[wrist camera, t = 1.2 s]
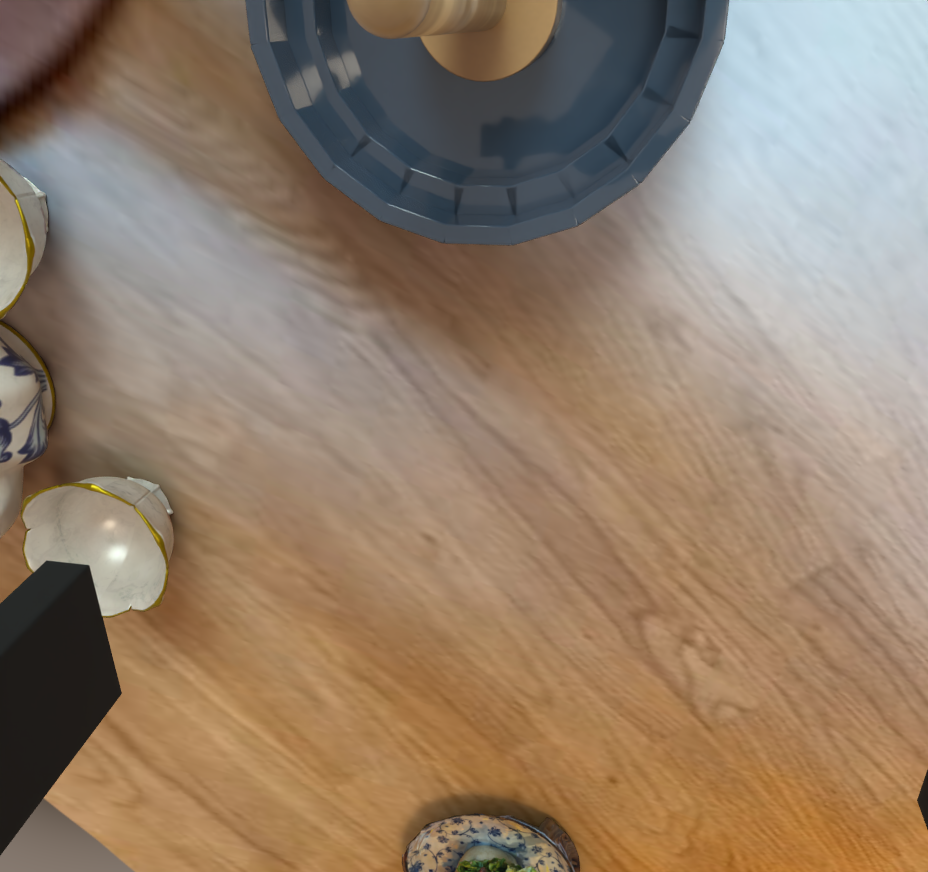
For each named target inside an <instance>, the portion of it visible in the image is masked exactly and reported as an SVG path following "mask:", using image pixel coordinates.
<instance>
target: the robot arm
mask: <svg viewBox="0 0 928 872" xmlns="http://www.w3.org/2000/svg"><path fill="white" fill-rule="evenodd" d="M121 694H122V693H121V689H120V685H119V681H118V677H117V673H116V669H115V665H114V661H113V657H112V653H111V649H110V645H109V641H108V637H107V633H106V629H105V625H104V621H103V617H102V613H101V609H100V605H99V601H98V597H97V594H96V590H95V586H94V582H93V578H92V574H91V570H90V566H89V565H84V564H75V563H66V562H56V561H47V560H46V561H45V562H44V563H43V564H42V565H41V566H40V567H39V568H38V569H37V570H36V571H35V572H34V573H33V574H32V575H30V576H29V577H28V578H27V579H26V580H25V581H24V582H23V583H22V584H21V585H20V586H19V587H18V588H17V589H15V590H14V591H13V592H12V593H11V594H10V595H9V596H8V597H7V598H6V599H5V600H4V601H3V602H2V603H1V604H0V855H1V854H2V853H3V851H4V850H5V848H6V847H7V846H8V845H9V843H10V842H11V840H12V839H13V838H14V837H15V835H16V834H17V833H18V831H19V830H20V828H21V827H22V826H23V825H24V823H25V822H26V820H27V819H28V818H29V817H30V815H31V814H32V813H33V811H34V810H35V809H36V807H37V806H38V804H39V803H40V802H41V801H42V799H43V798H44V797H45V795H46V794H47V793H48V791H49V790H50V789H51V787H52V786H53V785H54V783H55V782H56V781H57V779H58V778H59V777H60V775H61V774H62V773H63V771H64V770H65V769H66V767H67V766H68V765H69V763H70V762H71V761H72V759H73V758H74V757H75V755H76V754H77V753H78V751H79V750H80V749H81V747H82V746H83V745H84V743H85V742H86V741H87V739H88V738H89V737H90V735H91V734H92V733H93V731H94V730H95V729H96V727H97V726H98V725H99V723H100V722H101V721H102V719H103V718H104V717H105V715H106V714H107V713H108V711H109V710H110V709H111V707H112V706H113V705H114V703H115V702H116V701H117V699H118V698H119V697H120V695H121ZM917 801H918V804H919V807H920V810H921V812H922V815H923V818H924V821H925V823H926V826H927V829H928V770H927V773H926V776H925V779H924V782H923V785H922V788H921V791H920V794H919V796H918V799H917Z"/></svg>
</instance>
